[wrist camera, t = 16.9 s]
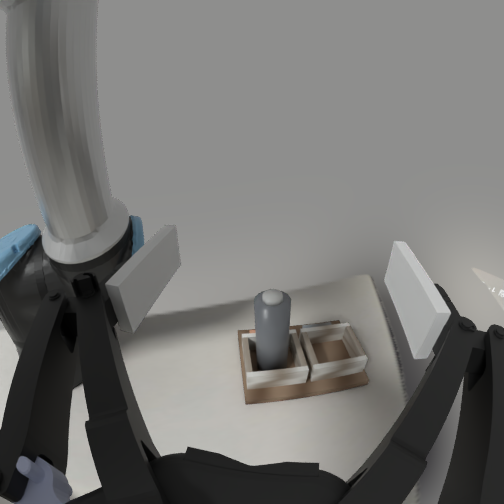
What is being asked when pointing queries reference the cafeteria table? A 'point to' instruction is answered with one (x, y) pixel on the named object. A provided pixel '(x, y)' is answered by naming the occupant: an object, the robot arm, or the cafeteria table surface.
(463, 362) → the robot arm
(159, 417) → the cafeteria table surface
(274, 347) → the plug
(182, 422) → the cafeteria table surface
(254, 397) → the socket board
